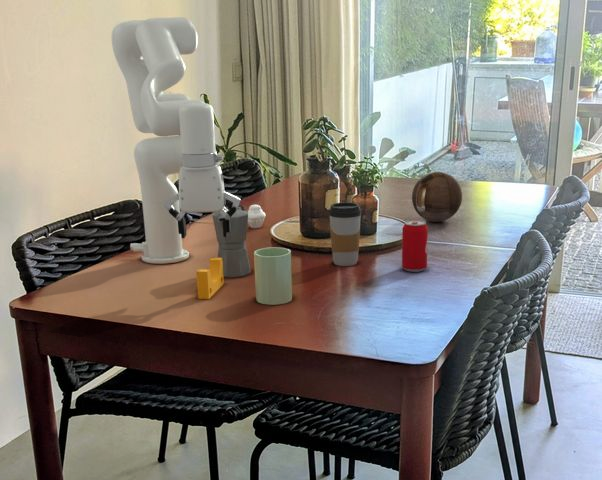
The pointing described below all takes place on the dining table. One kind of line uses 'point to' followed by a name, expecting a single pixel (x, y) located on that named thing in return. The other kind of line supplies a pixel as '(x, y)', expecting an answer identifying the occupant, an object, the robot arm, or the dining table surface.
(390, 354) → the dining table surface
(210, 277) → the yellow toy block
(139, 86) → the robot arm
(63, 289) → the dining table surface
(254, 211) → the white rounded piece
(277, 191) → the dining table surface
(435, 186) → the wooden sphere
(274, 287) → the tumbler
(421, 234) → the beverage can
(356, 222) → the coffee cup
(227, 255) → the coffeepot
